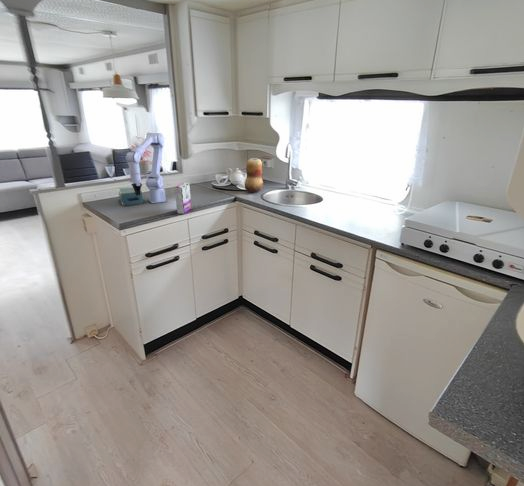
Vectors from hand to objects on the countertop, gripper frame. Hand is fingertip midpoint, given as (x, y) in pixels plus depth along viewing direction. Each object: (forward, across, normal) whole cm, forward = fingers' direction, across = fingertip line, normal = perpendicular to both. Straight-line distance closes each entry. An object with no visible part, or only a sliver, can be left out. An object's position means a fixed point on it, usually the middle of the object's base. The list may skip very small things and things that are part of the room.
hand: (138, 195), depth 199 cm
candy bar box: (+9, +18, +23) cm, 30 cm away
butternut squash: (+9, -5, +83) cm, 83 cm away
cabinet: (+9, -18, -2) cm, 20 cm away
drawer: (+8, -14, -2) cm, 16 cm away
